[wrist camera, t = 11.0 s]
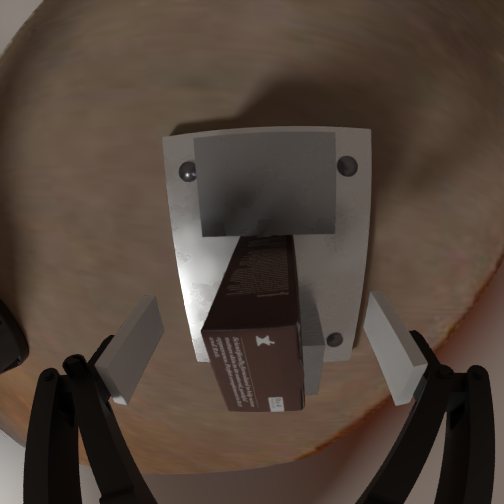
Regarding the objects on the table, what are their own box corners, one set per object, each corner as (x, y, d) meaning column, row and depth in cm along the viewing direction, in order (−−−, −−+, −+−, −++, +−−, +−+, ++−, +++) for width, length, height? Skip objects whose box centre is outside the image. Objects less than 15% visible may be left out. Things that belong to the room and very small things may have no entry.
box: (235, 235, 22) (195, 329, 10) (292, 229, 21) (310, 321, 10) (247, 301, 24) (226, 415, 13) (299, 296, 23) (312, 411, 12)
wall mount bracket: (199, 354, 28) (185, 395, 22) (168, 137, 20) (132, 136, 15) (347, 352, 27) (359, 395, 21) (365, 129, 19) (398, 125, 13)
